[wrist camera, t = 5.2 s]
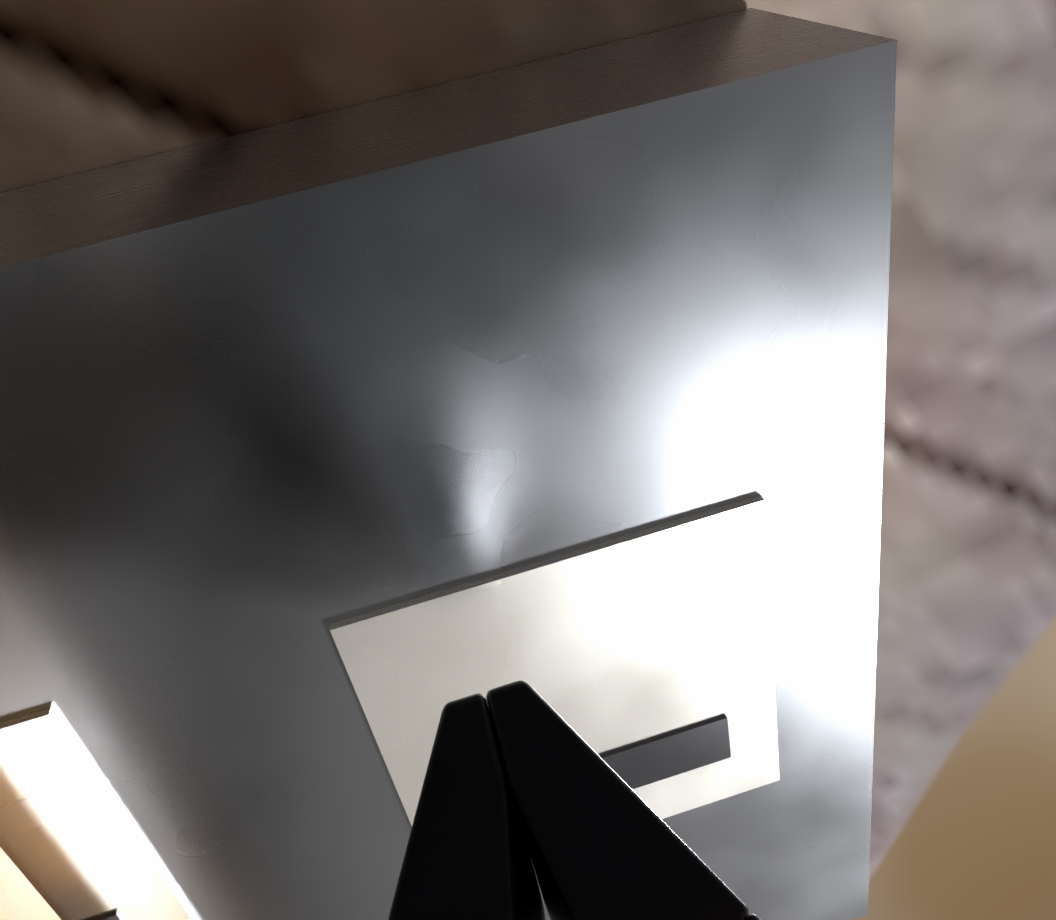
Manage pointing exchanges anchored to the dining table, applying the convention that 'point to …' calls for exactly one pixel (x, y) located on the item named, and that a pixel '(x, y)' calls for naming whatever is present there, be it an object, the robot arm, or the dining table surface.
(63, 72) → the dining table surface
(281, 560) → the power supply unit
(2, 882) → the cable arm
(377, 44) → the dining table surface
